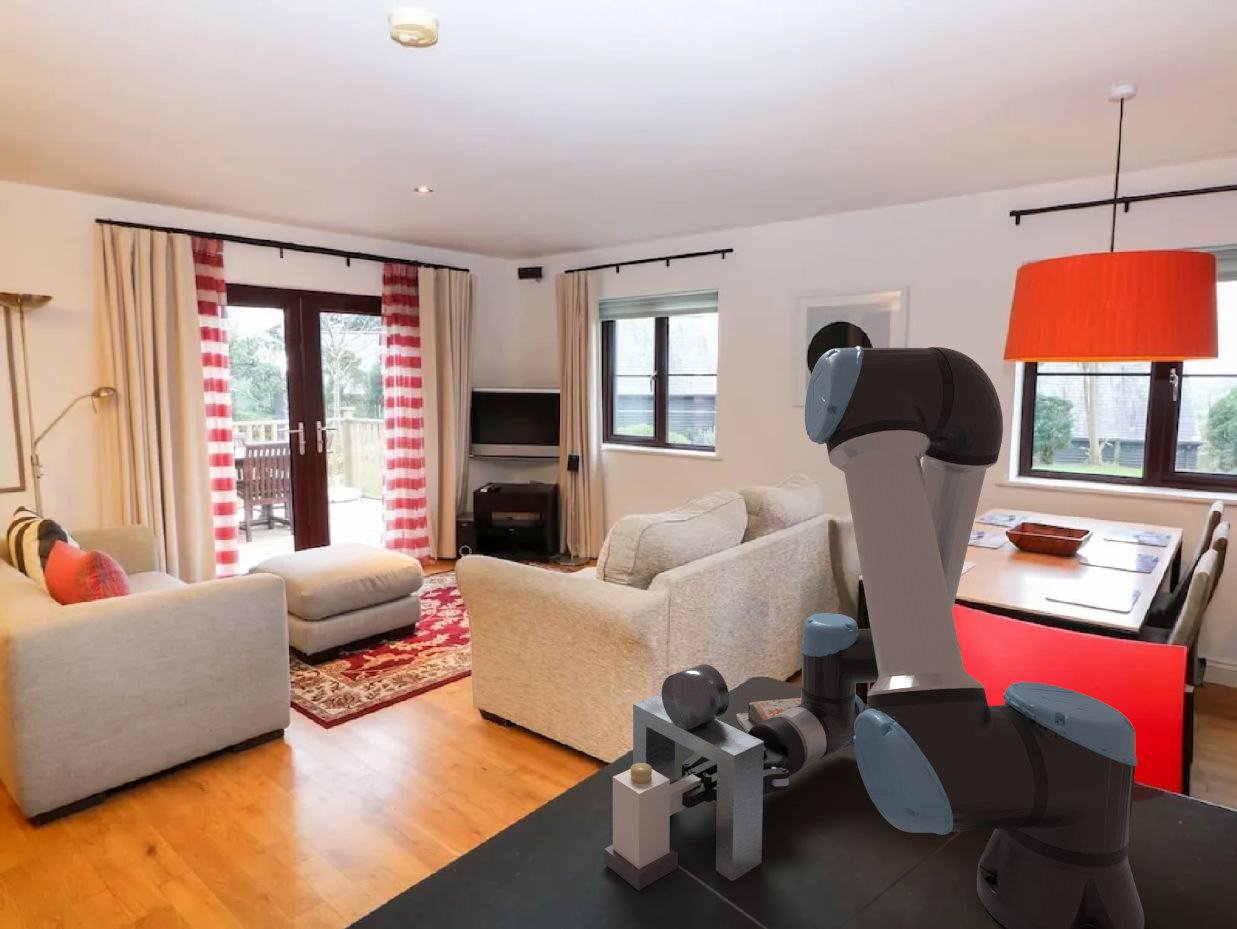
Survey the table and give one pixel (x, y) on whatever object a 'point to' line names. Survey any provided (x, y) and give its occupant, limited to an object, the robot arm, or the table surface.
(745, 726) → the packaged product
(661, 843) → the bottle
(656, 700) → the grey metal arch
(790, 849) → the table surface
